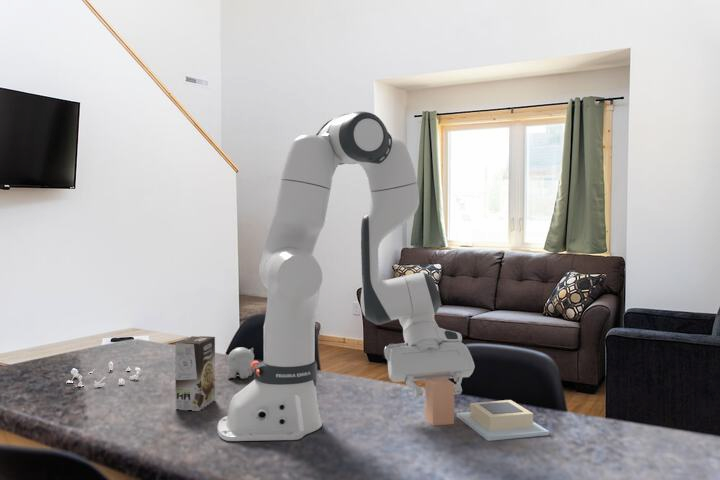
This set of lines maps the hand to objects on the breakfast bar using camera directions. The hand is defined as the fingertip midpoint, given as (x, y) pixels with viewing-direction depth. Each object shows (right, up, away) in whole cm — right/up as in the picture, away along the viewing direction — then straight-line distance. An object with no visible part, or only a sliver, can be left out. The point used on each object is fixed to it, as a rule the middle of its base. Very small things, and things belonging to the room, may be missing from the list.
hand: (438, 394), depth 139 cm
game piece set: (-89, -5, +35) cm, 96 cm away
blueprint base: (+13, -6, -3) cm, 15 cm away
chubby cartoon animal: (-51, -5, +40) cm, 65 cm away
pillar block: (0, -6, 0) cm, 6 cm away
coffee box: (-57, -6, +11) cm, 59 cm away
